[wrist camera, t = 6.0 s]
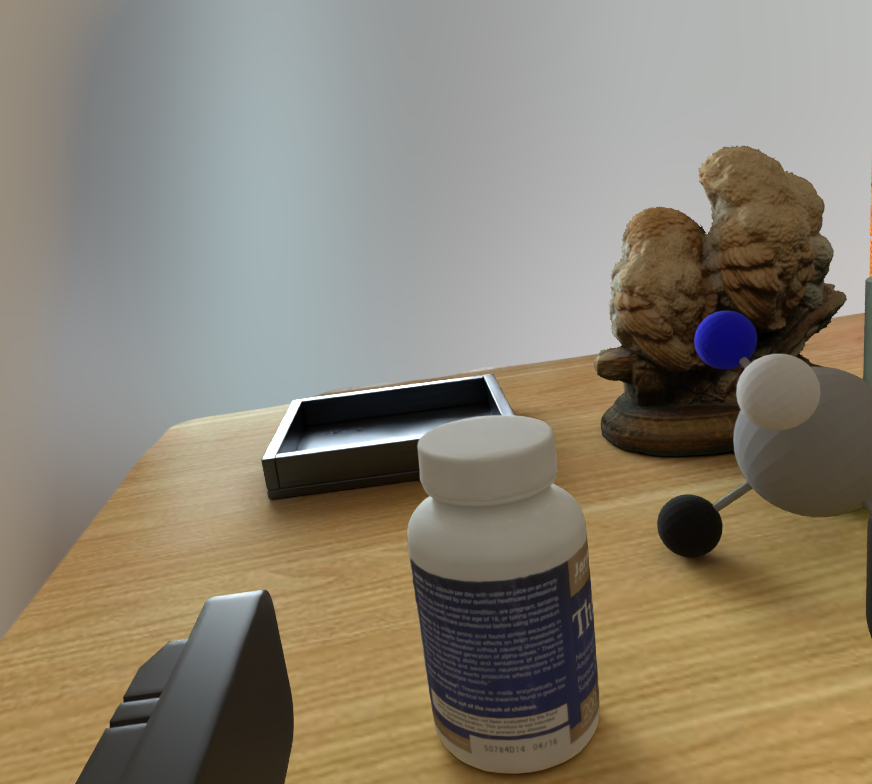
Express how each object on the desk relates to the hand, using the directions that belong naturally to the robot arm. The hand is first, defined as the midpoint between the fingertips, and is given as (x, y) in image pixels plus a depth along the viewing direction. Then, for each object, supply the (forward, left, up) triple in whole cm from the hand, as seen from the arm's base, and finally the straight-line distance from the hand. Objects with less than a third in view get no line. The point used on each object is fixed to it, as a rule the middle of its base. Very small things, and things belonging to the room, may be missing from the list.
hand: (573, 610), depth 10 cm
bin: (-4, +41, -11) cm, 43 cm away
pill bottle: (0, +12, -11) cm, 17 cm away
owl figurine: (+18, +38, -11) cm, 44 cm away
